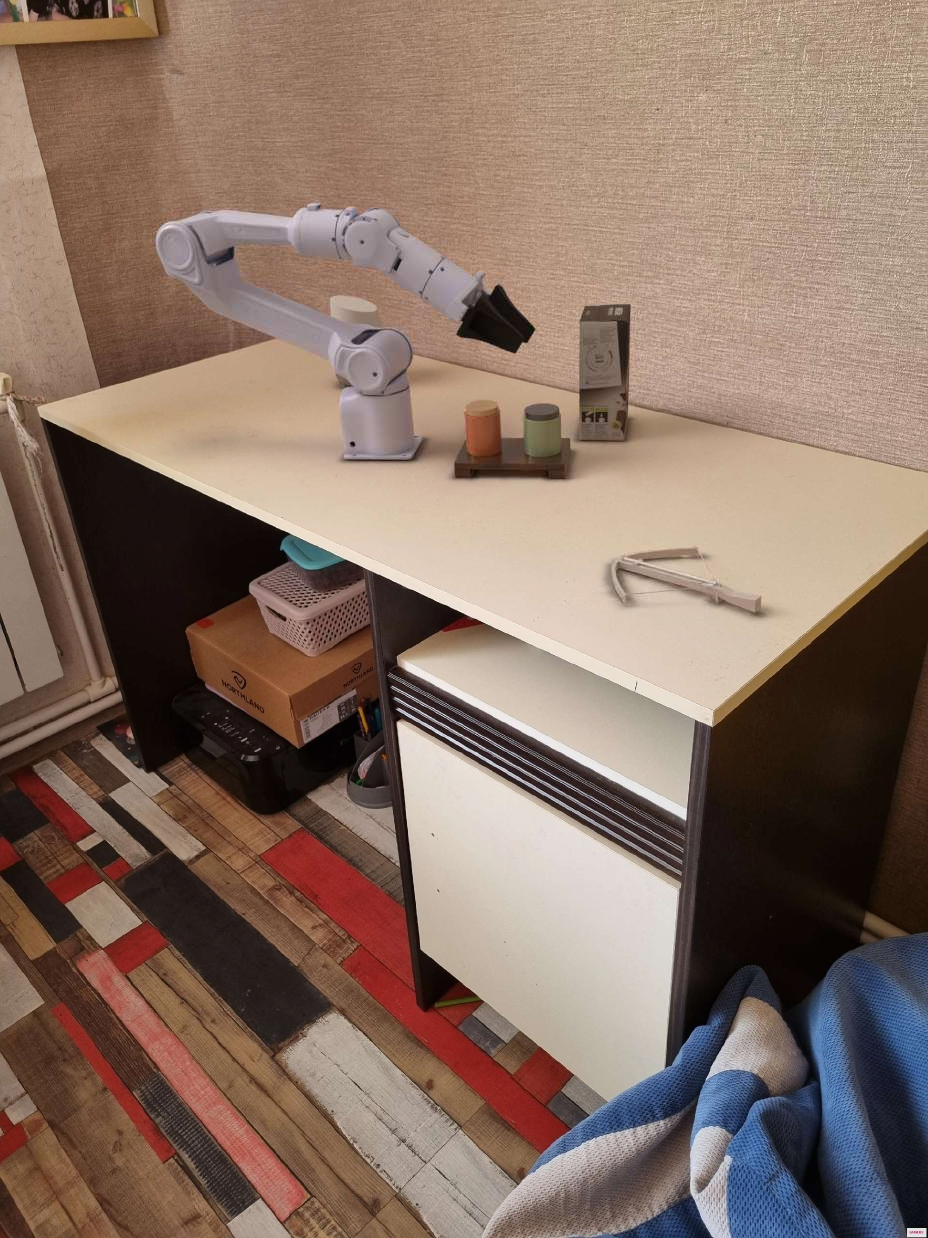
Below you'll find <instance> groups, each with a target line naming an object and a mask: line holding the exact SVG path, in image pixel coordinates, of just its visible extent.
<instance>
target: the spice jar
mask: <svg viewBox="0 0 928 1238" xmlns="http://www.w3.org/2000/svg"><path fill="white" fill-rule="evenodd" d="M499 407H500V406H499V403H498V402H497V401H494V400H490V399H489V400H488V399H481V400H474V401H471V402H468V403H467V404H465V407H464V408H465V410H464V413H463V414H464V431H465V432H464V433H465V440H466V447H467V453H468V454H470V455H473V456H479V457H485V456H492V455H495V454H498V453H500V452H501V451H502V438H503V437H502V417H501V416H502V415H501V409H500V408H499Z"/></svg>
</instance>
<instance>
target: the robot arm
mask: <svg viewBox="0 0 928 1238" xmlns="http://www.w3.org/2000/svg"><path fill="white" fill-rule="evenodd" d="M240 244H241V245H275V246H292V247H293V248H294V250H295V251H296V252H297V254H298V255H299V256H301V257H304V258H318V259H329V260H341V261H350V260H352V264H353V265H354V266H357V267H359V268H364V269H368V268H369V269H370V268H375V269H376V270H378V271H379V272H381V273H382V274H384V275H385V276H387V277H388V278H390V279H391V280H392V281H394V282H395V283H396V284H398V285H400V286H401V287H402V288H403V289H405V290H407V291H409V292H410V293H411V294H413V295H414V296H416V297H417V298H418V299H420V300H421V301H423V302H425V303H426V304H427V305H429V306H430V307H432V308H433V309H435V310H437V312H439V313H441V314H442V315H444V316H445V317H447V318H448V319H449V321H450V322H452V323H453V324H454V325H458V324H460V323H461V324H460V325H459V326H458V327H459V328H458V329H457V330H456V334H455V335H456V336H457V337H459V338H460V339H470V340H476V341H479V342H484V343H487V344H488V345H491V346H494V347H496V348H499V349H501V350H503V351H506V352H508V353H511V354H516V353H517V352H518V350H519V349H520V347H521V346H522V344H528V343H529V342H530V339H531V338H532V337H533V335H534V333H535V332H536V330H537V329H536V328H535V326H534V325H533V323H531V321H529V319H528V318H527V317H526V316H525V315H524V314H523V313H522V312H521V311H520V310H519V309H518V308H517V307H516V306H515V305H514V303H513V301H511V299H510V298H509V296H508V294H507V292H506V290H505V288H504V287H503V286H502V285H500V284H499V283H497V285H495V286H494V288H493V289H492V291H489V290H488V289H487V288H485V287H484V281H483V280H484V278H485V276H486V274H487V273H486V271H484V270H482V269H481V270H478V271H477V273H476V274H475V276H473V275H472V274H470V273H469V272H468V271H466V270H464V269H463V268H462V267H460V266H459V265H457V264H456V263H454V262H453V261H451V260H449V259H448V258H447V257H445V256H444V255H442V254H441V253H439V252H438V251H436V250H435V249H433V247H431V246H429V245H428V244H426V243H425V242H423V241H422V240H421V239H419V238H417V237H416V236H414V235H412V234H411V233H409V232H408V231H406V230H405V229H403V228H402V226H401V223H400V221H399V220H398V218H397V217H396V215H394V214H393V213H392V212H390V211H388V210H386V209H383V208H380V207H377V206H374V207H371V208H369V209H367V210H366V211H364V212H363V213H362V214H361V212H359V211H358V208H357V207H356V206H347V207H346V208H345V210H344V209H330V208H322V203H321V202H312V203H308V204H307V207H301V208H300V209H299V210H297V211H296V213H295V214H294V215H293V216H292V217H291V216H283V215H282V216H281V215H274V214H266V213H257V212H250V211H249V212H248V211H241V210H231V209H221V210H216V211H213V210H203V211H200V212H198V213H197V214H194V215H192V216H189V217H185V218H182V219H180V220H175V221H174V220H173V221H167V222H165V223H164V224H162V225H161V226H160V227H159V229H158V230H157V232H156V236H155V249H156V252H157V255H158V257H159V260H160V261H161V264H162V267H163V268H164V270H165V273H166V275H167V276H169V277H171V278H173V279H175V280H178V281H180V282H182V283H183V284H184V286H185V287H187V288H188V289H189V290H190V291H191V292H192V293H193V294H194V295H195V296H196V297H197V298H198V299H199V300H200V301H201V302H202V303H203V304H204V305H205V306H206V307H207V308H208V309H209V310H210V311H212V312H213V313H215V314H218V315H220V316H222V317H225V318H227V319H229V320H232V321H235V322H236V323H239V324H241V325H244V326H246V327H248V328H251V329H253V330H256V331H259V332H260V333H263V334H265V335H267V336H270V337H272V338H275V339H277V340H280V341H281V342H284V343H287V344H289V345H291V346H294V347H297V348H299V349H301V350H303V351H306V352H308V353H311V354H312V355H315V356H318V357H320V358H323V359H326V360H327V361H329V362H330V364H331V368H332V371H333V373H334V374H335V375H336V374H338V375H340V376H342V377H344V378H345V379H347V380H348V381H349V382H350V383H351V384H352V385H353V387H347V386H345V387H344V388H343V389H342V390H341V393H340V397H339V419H340V425H341V433H342V441H343V446H344V447H343V448H344V454H343V459H344V460H394V461H395V460H397V461H398V460H403V461H405V460H406V461H407V460H411V459H413V457H414V456H415V454H416V452H417V451H418V449H419V447H420V446H421V443H422V442H423V440H424V436H423V435H415V428H414V419H413V418H414V417H413V408H412V407H413V406H412V396H411V385H410V378H409V377H408V369H409V368H410V367H411V365H412V363H413V361H414V347H413V344H412V341H411V340H410V338H409V337H408V336H407V334H405V332H403V331H402V330H400V329H399V328H396V327H392V326H391V327H390V326H387V327H382V328H376V327H373V326H371V325H368V324H350V323H345V322H343V321H340V320H338V319H335V318H333V317H331V315H328V314H325V313H323V312H321V311H318V310H316V309H313V308H311V307H308V306H306V305H304V304H303V303H299V302H297V301H294V300H292V299H290V298H287V297H285V296H283V295H280V294H278V293H275V292H273V291H270V290H268V289H265V288H263V287H261V286H258V285H256V284H253V283H251V282H250V281H249V282H248V281H246V280H244V279H243V278H242V275H241V271H240V264H239V258H238V252H237V248H236V247H237V246H238V245H240Z"/></svg>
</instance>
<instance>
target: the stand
mask: <svg viewBox="0 0 928 1238" xmlns="http://www.w3.org/2000/svg"><path fill="white" fill-rule="evenodd" d="M571 447H572V446H571V437H561V452H560V453H558V454H556V455H554V456H550V457H533V456H529V455H527V454H525V452H524V437H502V451H501V452H500V453H498V454H495V455H492V456H485V457H479V456H473V455H470V454H468V453H467V447H466V439H465V440H464V442H463V443H462V446H461V448H460V450H459V452H458V454H457V457H456V458H455V460H454V463H453V465H454V466H453V467H454V478H456V479H471V477H472V475H473V472H474V470H533V471H535V470H537V471H539V470H541V471H543V470H544V471H545V470H546V471H548V479H551V480H552V479H554V480H557V479H558V480H560V479H561V480H564V479H565V478H566V474H567V469H568V465H569V461H570V455H571V451H572V449H571Z"/></svg>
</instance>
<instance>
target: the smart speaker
mask: <svg viewBox="0 0 928 1238" xmlns="http://www.w3.org/2000/svg"><path fill="white" fill-rule="evenodd" d="M329 301H330V302H329V303H330V307H329V309H330V316H331V317H333V318H335V319H338V320H340V321H343V322H345V323H350V324H368V325H371V326H373V327H376V328H383V326H382V321H381V315H380V313H379V308H378V307H377V305H376V304H375V303H373V302H371V301H369V300H366V299H364V298H360V297H355V296H352V295H333V296H331V297H330V299H329ZM335 377H336V379H337V380H338V382H339V383H340V384H341V385H342V386H345V387H353V385H352V384H351V383H350V382H349V381H348V380H347V379H345V378H344V377H342V376H340V375H338V374H335Z"/></svg>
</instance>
